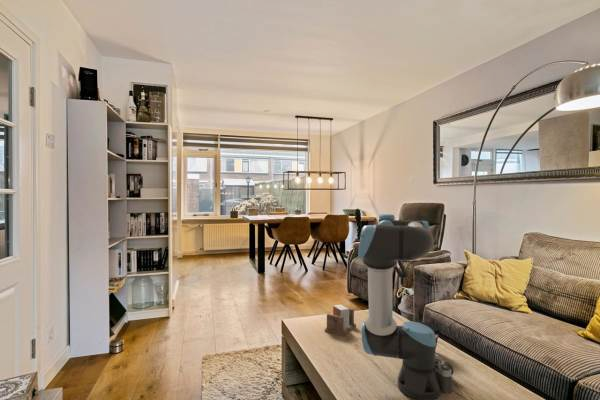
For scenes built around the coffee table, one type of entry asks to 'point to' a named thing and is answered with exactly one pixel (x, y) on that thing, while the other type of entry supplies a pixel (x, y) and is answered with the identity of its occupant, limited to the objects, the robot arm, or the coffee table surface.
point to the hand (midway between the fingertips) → (386, 288)
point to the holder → (339, 324)
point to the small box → (342, 313)
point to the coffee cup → (434, 328)
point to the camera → (444, 374)
